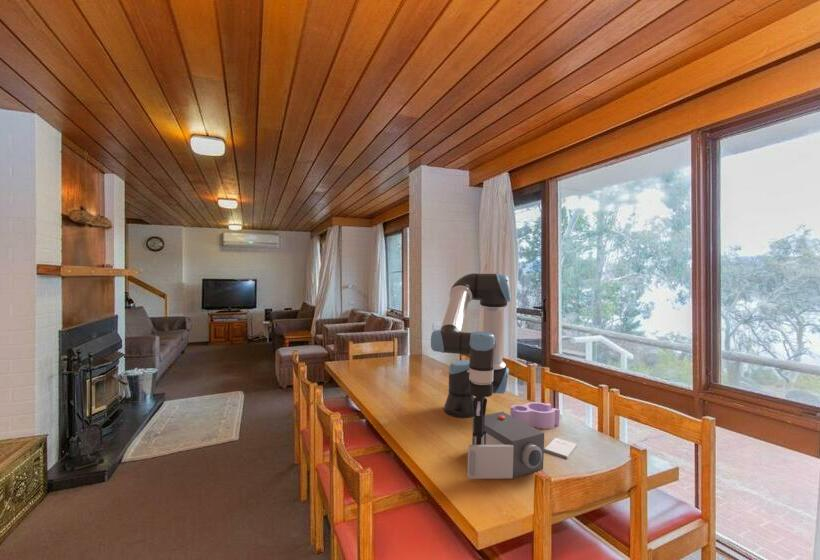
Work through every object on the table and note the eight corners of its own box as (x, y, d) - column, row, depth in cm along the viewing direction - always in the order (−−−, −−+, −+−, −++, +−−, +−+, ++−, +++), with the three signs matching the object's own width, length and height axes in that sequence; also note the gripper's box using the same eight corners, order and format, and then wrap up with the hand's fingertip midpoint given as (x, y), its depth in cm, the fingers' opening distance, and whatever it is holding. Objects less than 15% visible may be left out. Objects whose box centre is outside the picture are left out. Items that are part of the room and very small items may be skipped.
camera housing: (471, 450, 132) (472, 415, 131) (501, 442, 138) (502, 409, 138) (518, 484, 111) (519, 442, 111) (550, 473, 118) (551, 434, 118)
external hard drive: (543, 453, 132) (554, 441, 142) (567, 460, 127) (577, 447, 137) (543, 448, 132) (554, 436, 142) (567, 456, 127) (577, 443, 137)
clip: (519, 431, 149) (519, 414, 149) (505, 418, 161) (506, 403, 161) (563, 428, 153) (563, 412, 153) (546, 416, 165) (547, 401, 165)
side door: (468, 480, 111) (469, 448, 111) (467, 476, 113) (468, 444, 113) (513, 480, 112) (514, 448, 111) (511, 476, 114) (512, 444, 113)
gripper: (471, 374, 122) (469, 443, 123) (465, 386, 110) (463, 463, 110) (494, 377, 120) (492, 447, 120) (491, 389, 107) (489, 467, 108)
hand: (478, 454), depth 115 cm, fingers closed
